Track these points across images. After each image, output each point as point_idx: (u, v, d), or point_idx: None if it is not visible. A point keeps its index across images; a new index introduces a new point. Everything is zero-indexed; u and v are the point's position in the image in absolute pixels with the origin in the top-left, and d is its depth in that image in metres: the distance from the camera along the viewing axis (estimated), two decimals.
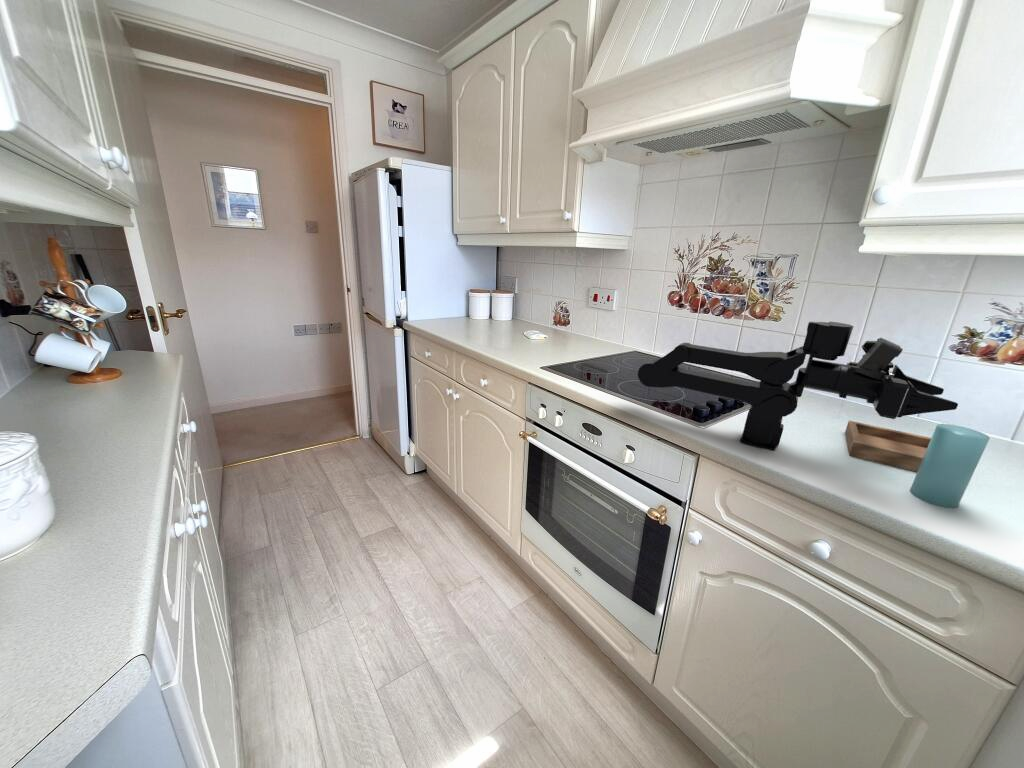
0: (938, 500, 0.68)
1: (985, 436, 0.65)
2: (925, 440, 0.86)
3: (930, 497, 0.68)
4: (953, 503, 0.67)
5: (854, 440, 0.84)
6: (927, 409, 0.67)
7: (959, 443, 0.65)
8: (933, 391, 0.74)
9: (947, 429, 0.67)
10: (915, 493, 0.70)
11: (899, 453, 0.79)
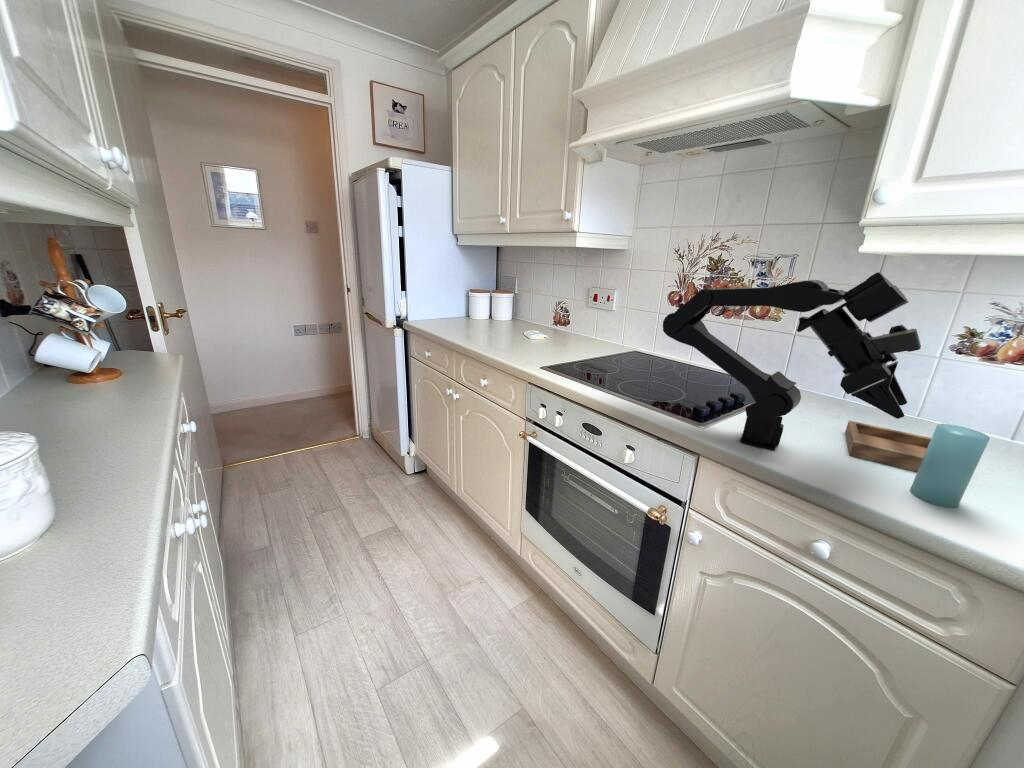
0: (938, 500, 0.68)
1: (985, 436, 0.65)
2: (925, 440, 0.86)
3: (930, 497, 0.68)
4: (953, 503, 0.67)
5: (854, 440, 0.84)
6: (878, 404, 0.69)
7: (959, 443, 0.65)
8: (897, 399, 0.74)
9: (947, 429, 0.67)
10: (915, 493, 0.70)
11: (899, 453, 0.79)
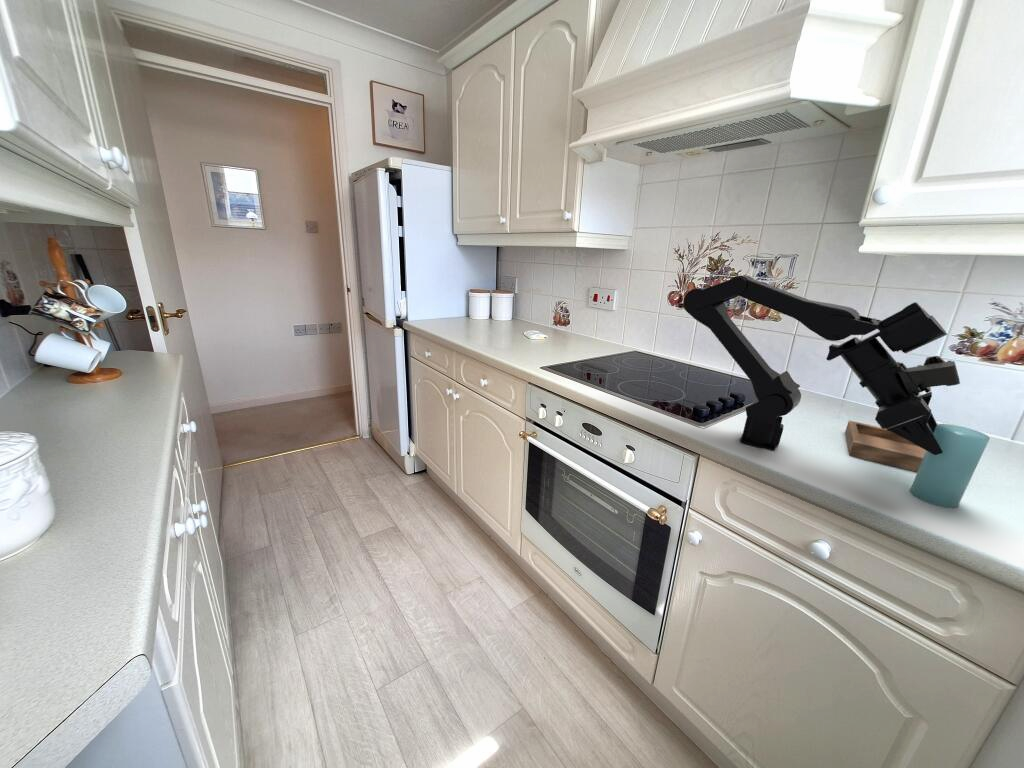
0: (938, 500, 0.68)
1: (985, 436, 0.65)
2: None
3: (930, 497, 0.68)
4: (953, 503, 0.67)
5: (854, 440, 0.84)
6: (915, 440, 0.66)
7: (959, 443, 0.65)
8: (932, 431, 0.72)
9: (947, 429, 0.67)
10: (915, 493, 0.70)
11: (899, 453, 0.79)
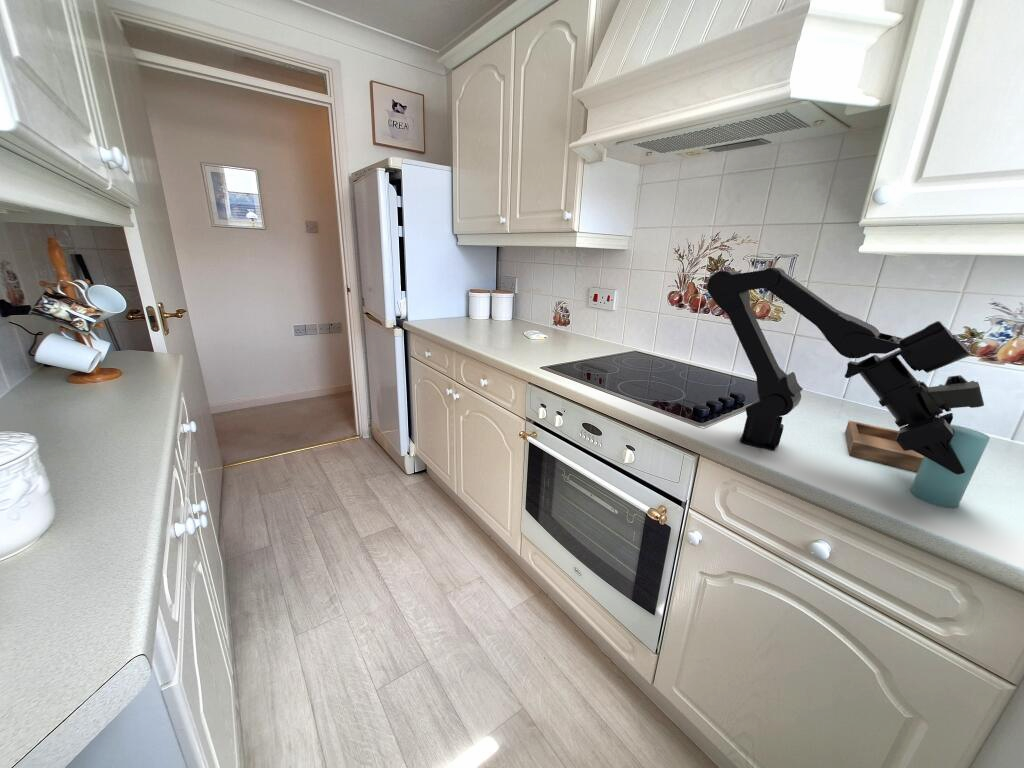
0: (938, 500, 0.68)
1: (985, 436, 0.65)
2: None
3: (930, 497, 0.68)
4: (953, 503, 0.67)
5: (854, 440, 0.84)
6: (937, 459, 0.66)
7: (959, 443, 0.65)
8: None
9: None
10: (915, 493, 0.70)
11: (899, 453, 0.79)
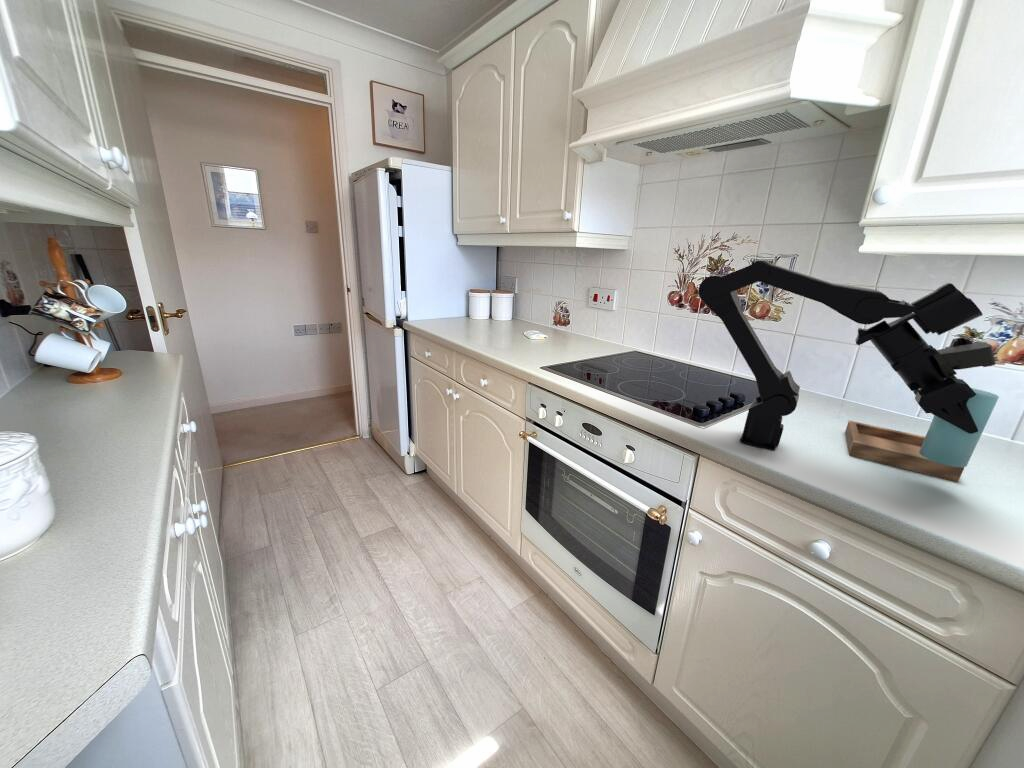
0: (951, 460, 0.69)
1: (993, 394, 0.66)
2: None
3: (943, 458, 0.69)
4: (964, 462, 0.68)
5: (854, 440, 0.84)
6: (952, 420, 0.66)
7: (973, 403, 0.65)
8: None
9: None
10: (927, 455, 0.71)
11: (899, 453, 0.79)
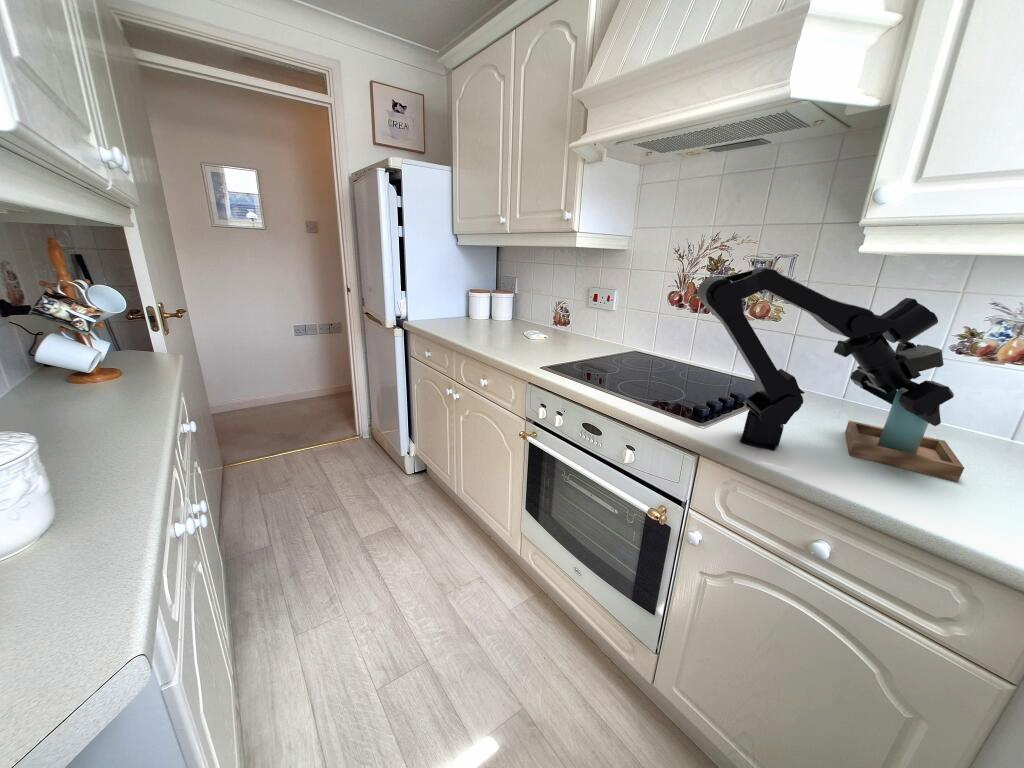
0: (910, 452, 0.82)
1: None
2: (925, 440, 0.86)
3: None
4: (916, 451, 0.82)
5: (854, 440, 0.84)
6: (926, 417, 0.76)
7: None
8: None
9: None
10: None
11: (899, 453, 0.79)
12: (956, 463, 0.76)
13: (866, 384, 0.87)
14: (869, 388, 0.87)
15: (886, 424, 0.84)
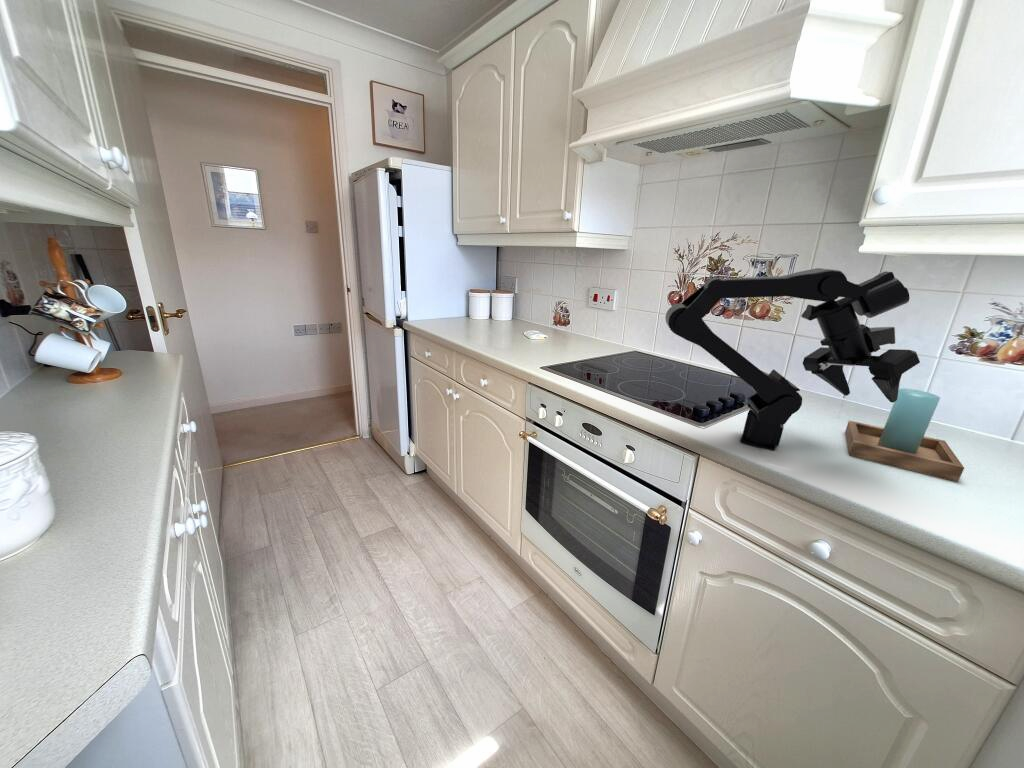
0: (910, 452, 0.82)
1: (931, 394, 0.81)
2: (925, 440, 0.86)
3: (905, 451, 0.82)
4: (916, 451, 0.82)
5: (854, 440, 0.84)
6: (889, 389, 0.75)
7: (928, 404, 0.78)
8: (845, 390, 0.85)
9: (912, 394, 0.80)
10: None
11: (899, 453, 0.79)
12: (956, 463, 0.76)
13: (819, 368, 0.86)
14: (823, 371, 0.85)
15: (887, 424, 0.84)
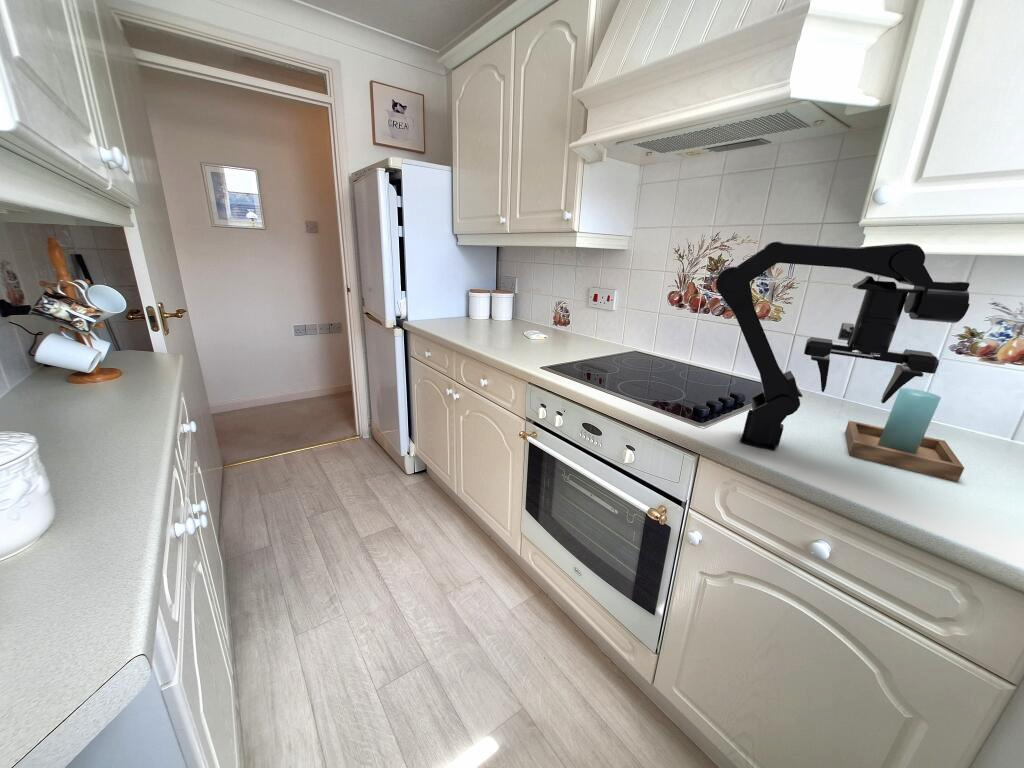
0: (911, 452, 0.82)
1: (932, 394, 0.81)
2: (925, 440, 0.86)
3: (906, 451, 0.82)
4: None
5: (854, 440, 0.84)
6: None
7: (930, 404, 0.78)
8: (825, 386, 0.81)
9: (913, 393, 0.80)
10: None
11: (899, 453, 0.79)
12: (956, 463, 0.76)
13: None
14: (828, 359, 0.78)
15: (887, 423, 0.84)
